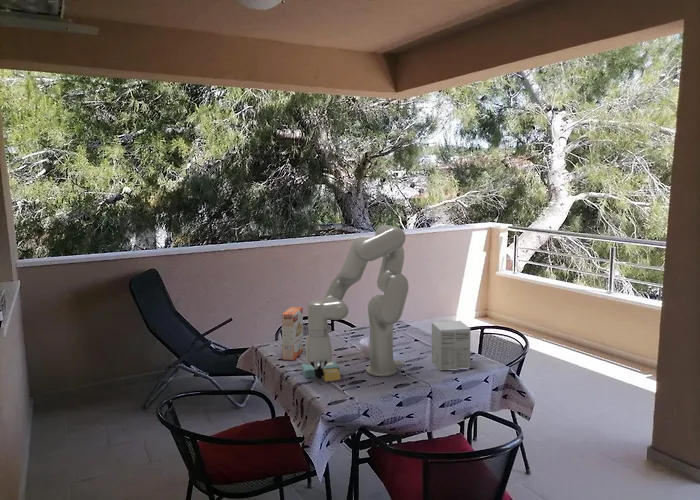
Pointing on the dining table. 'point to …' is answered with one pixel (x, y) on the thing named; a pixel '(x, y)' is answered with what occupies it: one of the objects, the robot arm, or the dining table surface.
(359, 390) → the dining table surface
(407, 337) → the dining table surface
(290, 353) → the cracker box
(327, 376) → the yellow labeled box
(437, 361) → the supplement box
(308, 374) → the teal labeled router
